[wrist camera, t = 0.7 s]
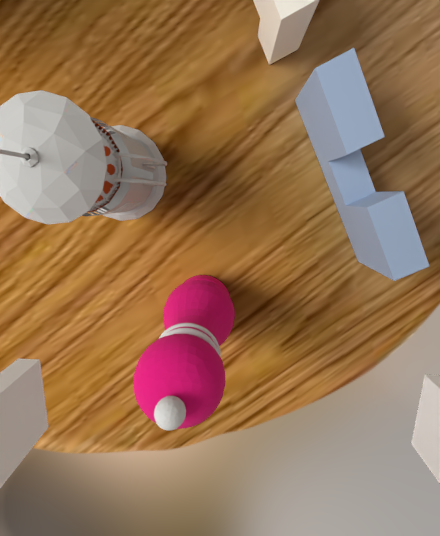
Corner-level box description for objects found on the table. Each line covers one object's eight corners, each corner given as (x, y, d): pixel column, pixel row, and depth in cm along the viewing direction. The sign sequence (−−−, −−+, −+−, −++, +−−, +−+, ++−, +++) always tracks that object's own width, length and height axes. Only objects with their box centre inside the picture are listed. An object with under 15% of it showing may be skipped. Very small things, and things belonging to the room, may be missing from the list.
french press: (74, 121, 32) (-415, -104, 8) (185, 129, 32) (29, -81, 8) (77, 217, 35) (-298, 268, 10) (181, 225, 34) (49, 298, 10)
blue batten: (294, 100, 31) (315, 68, 23) (323, 85, 30) (353, 47, 23) (357, 261, 34) (394, 280, 26) (384, 250, 34) (429, 266, 26)
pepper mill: (229, 266, 35) (223, 354, 16) (238, 325, 37) (243, 473, 17) (167, 275, 36) (85, 371, 16) (178, 333, 37) (117, 484, 18)
